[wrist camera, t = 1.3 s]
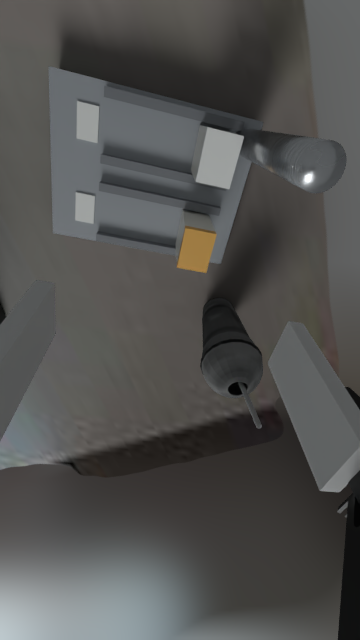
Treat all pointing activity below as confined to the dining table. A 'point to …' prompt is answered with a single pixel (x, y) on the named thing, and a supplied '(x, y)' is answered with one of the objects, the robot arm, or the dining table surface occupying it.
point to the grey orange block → (194, 241)
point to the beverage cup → (229, 354)
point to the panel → (133, 164)
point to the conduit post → (296, 158)
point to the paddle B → (215, 157)
